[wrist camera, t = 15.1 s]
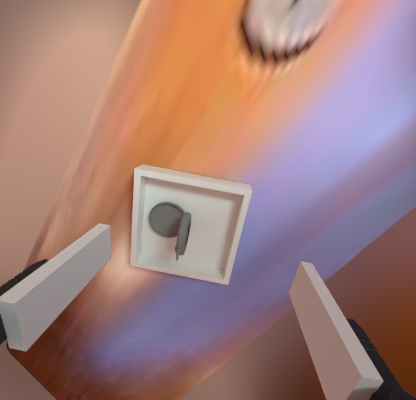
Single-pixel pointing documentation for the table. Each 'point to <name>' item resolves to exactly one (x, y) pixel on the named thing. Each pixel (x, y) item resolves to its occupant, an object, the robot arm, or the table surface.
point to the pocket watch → (171, 224)
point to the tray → (200, 223)
